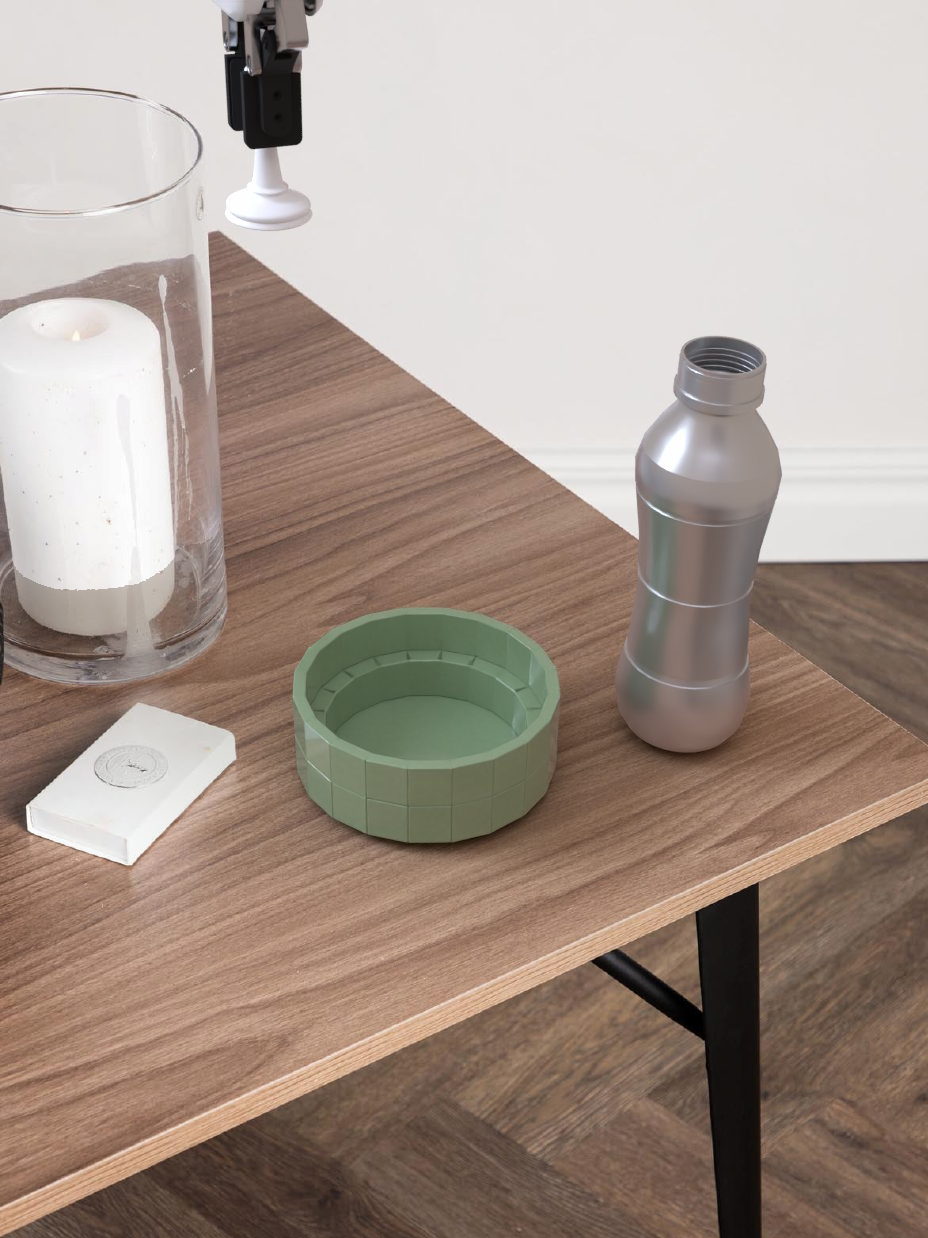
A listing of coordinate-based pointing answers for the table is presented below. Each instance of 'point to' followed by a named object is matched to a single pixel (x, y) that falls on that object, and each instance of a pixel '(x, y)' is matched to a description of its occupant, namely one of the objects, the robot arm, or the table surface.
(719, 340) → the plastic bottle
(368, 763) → the bowl
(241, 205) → the chess piece
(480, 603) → the table surface
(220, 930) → the table surface
